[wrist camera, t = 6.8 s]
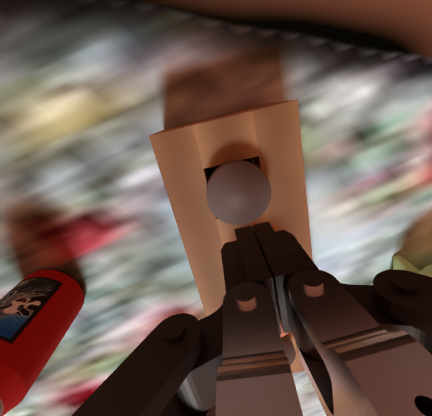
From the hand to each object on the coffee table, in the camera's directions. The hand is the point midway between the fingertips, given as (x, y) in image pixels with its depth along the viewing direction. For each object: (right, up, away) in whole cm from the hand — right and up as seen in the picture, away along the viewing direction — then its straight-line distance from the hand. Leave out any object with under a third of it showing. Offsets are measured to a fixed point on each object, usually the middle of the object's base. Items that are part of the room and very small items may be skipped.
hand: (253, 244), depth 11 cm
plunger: (0, +5, +12) cm, 13 cm away
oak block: (+1, -2, +16) cm, 16 cm away
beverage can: (-20, -8, +17) cm, 27 cm away
